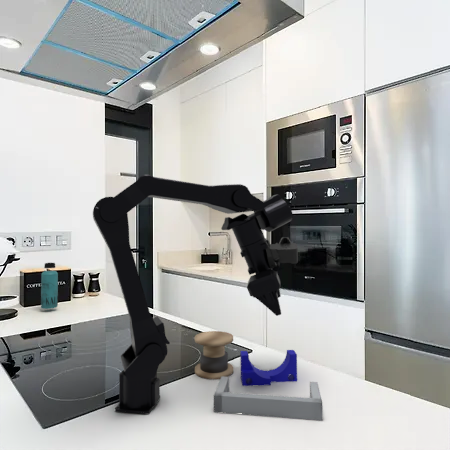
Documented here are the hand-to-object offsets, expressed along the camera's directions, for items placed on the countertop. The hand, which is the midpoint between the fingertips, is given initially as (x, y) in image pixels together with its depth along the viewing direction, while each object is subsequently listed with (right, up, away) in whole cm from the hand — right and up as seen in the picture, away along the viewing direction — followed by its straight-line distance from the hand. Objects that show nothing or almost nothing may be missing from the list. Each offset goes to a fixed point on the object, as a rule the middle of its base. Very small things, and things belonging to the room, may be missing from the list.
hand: (278, 305), depth 78 cm
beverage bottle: (-85, -18, +70) cm, 111 cm away
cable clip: (-2, -17, -1) cm, 17 cm away
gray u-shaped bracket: (-4, -16, -11) cm, 20 cm away
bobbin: (-14, -16, +5) cm, 22 cm away
